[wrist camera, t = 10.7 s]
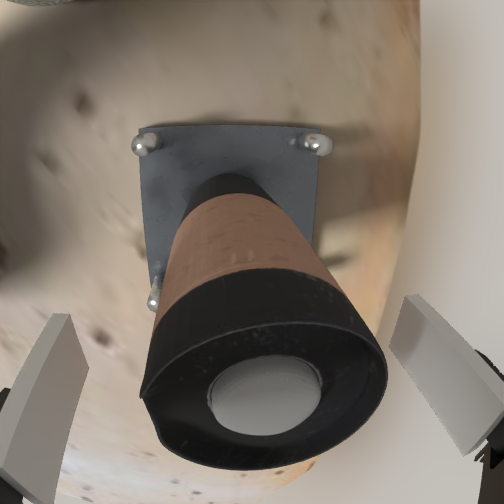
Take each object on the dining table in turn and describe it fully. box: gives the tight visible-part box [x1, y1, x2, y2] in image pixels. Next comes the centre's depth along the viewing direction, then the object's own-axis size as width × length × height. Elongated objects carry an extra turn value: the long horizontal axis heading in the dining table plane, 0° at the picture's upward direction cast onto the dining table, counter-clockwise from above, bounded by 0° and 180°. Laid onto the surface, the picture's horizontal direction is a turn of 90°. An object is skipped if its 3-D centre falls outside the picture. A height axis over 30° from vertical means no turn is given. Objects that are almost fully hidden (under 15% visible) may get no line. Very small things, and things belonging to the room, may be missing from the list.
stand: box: [131, 125, 333, 313], centre depth 25 cm, size 15×15×6 cm
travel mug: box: [139, 174, 388, 471], centre depth 17 cm, size 8×8×20 cm
